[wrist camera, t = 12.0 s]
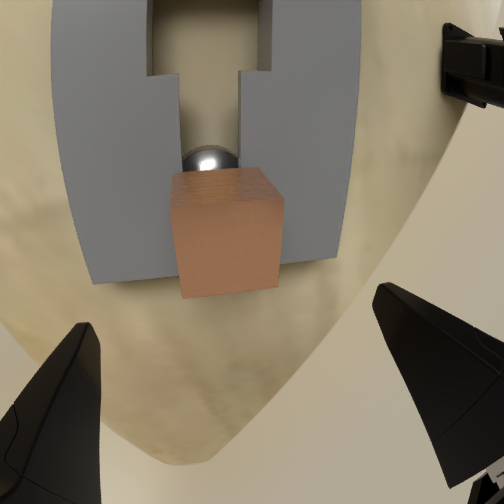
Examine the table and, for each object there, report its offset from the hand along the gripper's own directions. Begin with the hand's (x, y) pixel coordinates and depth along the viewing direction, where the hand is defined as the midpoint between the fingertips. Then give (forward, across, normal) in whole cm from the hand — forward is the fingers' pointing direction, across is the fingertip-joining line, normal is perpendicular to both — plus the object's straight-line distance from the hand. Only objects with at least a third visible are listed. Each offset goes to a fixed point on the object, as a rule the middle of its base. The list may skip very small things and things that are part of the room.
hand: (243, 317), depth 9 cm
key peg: (+12, 0, 0) cm, 12 cm away
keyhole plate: (+12, 0, -4) cm, 12 cm away
